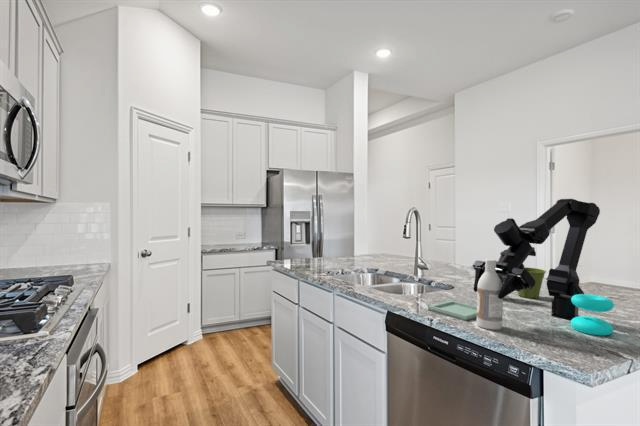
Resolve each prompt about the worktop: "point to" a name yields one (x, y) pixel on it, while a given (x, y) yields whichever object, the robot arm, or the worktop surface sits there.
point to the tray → (455, 310)
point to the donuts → (592, 323)
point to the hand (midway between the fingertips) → (486, 294)
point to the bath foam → (489, 298)
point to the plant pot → (534, 292)
